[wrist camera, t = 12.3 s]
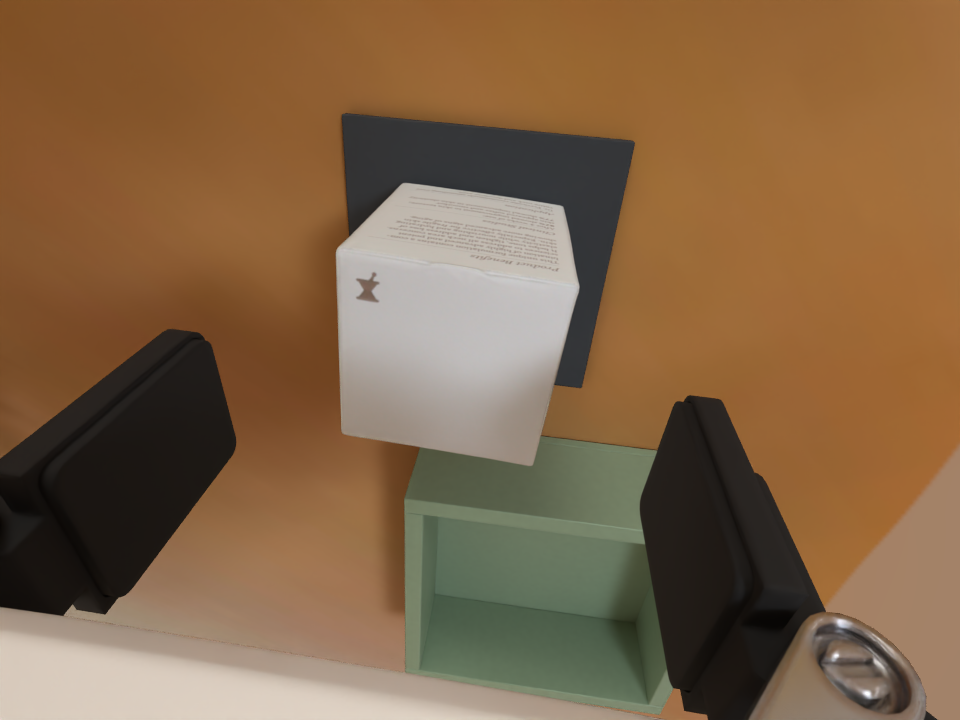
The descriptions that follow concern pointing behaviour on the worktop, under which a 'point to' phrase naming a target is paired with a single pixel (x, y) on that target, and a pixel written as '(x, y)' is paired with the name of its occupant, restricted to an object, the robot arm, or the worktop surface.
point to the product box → (454, 321)
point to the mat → (502, 189)
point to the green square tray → (534, 575)
